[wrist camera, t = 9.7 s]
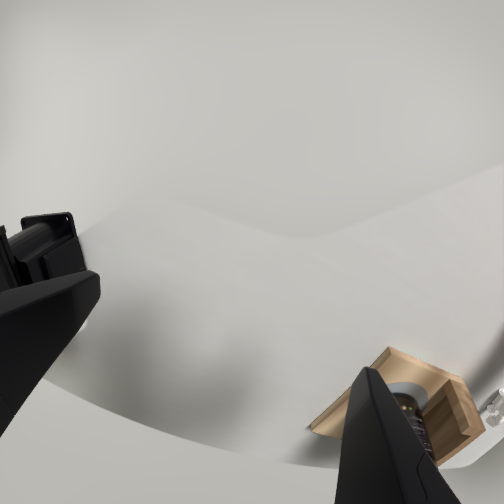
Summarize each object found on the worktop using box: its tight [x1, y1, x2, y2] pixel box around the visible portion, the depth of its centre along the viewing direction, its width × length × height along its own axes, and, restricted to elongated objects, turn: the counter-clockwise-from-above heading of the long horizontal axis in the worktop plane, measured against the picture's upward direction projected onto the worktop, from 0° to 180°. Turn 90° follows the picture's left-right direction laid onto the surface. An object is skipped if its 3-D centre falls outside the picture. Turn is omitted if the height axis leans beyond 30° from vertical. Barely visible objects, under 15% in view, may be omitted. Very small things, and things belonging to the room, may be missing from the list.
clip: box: [486, 389, 504, 428], centre depth 23 cm, size 5×2×4 cm, turn 173°
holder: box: [311, 347, 486, 466], centre depth 23 cm, size 11×12×7 cm
